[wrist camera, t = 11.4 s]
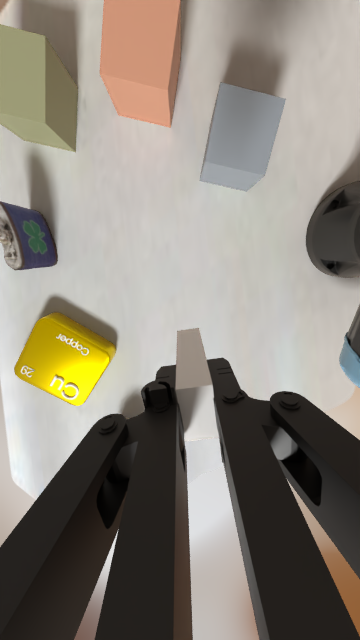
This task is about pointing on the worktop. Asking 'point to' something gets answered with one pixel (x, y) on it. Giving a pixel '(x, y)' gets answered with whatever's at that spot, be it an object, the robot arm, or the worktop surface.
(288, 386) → the worktop surface
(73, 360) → the element tile
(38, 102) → the olive block
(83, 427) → the worktop surface
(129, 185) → the worktop surface
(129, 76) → the terracotta block
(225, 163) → the slate block
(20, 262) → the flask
